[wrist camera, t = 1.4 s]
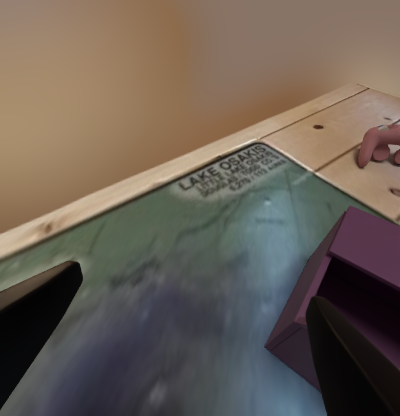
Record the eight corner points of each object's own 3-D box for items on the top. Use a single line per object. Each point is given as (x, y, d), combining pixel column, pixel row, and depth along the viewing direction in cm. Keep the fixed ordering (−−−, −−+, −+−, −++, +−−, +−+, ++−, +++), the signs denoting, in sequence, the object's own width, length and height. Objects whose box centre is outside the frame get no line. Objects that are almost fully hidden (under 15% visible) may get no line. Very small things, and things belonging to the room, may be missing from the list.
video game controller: (413, 173, 37) (437, 130, 34) (431, 180, 33) (459, 131, 30) (349, 162, 39) (366, 120, 36) (357, 167, 35) (378, 120, 32)
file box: (446, 491, 14) (681, 581, 7) (264, 347, 20) (297, 318, 13) (452, 338, 20) (587, 305, 13) (309, 258, 25) (349, 204, 18)
